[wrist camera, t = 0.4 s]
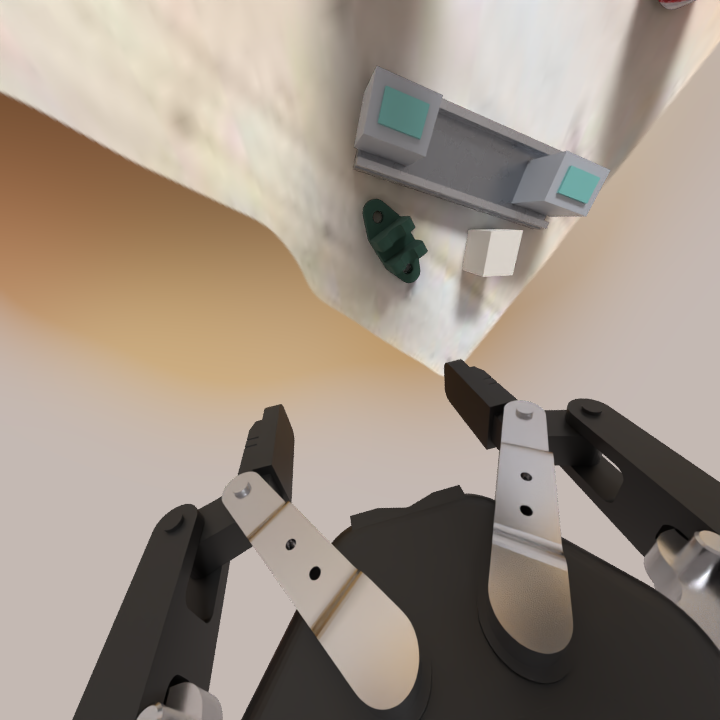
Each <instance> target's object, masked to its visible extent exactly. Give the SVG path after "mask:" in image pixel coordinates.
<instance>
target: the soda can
mask: <svg viewBox="0 0 720 720" xmlns="http://www.w3.org/2000/svg"><path fill="white" fill-rule="evenodd" d="M693 1H696V0H659V2H660V4H661V5H662V6H663V7H665V8H667V9H677V8H680V7H682V6H685V5H687V4H689V3H691V2H693Z"/></svg>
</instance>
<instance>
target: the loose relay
mask: <svg viewBox="0 0 720 720" xmlns="http://www.w3.org/2000/svg"><path fill="white" fill-rule="evenodd" d="M522 233H523V230H509V229H474V230H468V235H467V241H466V248H465V255H464V261H463V268H462V270H463V271H466V272H469V273H473V274H476V275H479V276H482V277H490V276H507V275H513V271H514V267H515V263H516V259H517V254H518V250H519V246H520V242H521V237H522Z"/></svg>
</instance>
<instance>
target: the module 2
mask: <svg viewBox="0 0 720 720" xmlns="http://www.w3.org/2000/svg"><path fill="white" fill-rule="evenodd" d="M609 172H610V170H609V169H607V168H605V167H602V166H600V165H598V164H596V163H593V162H591V161H589V160H587V159H585V158H582V157H580V156H578V155H576V154H573V153H571V152H569V151H564V152H560V153H557V154H553V155H549V156H545V157H541V158H537V159H533V160H529V162H528V165H527V167H526V169H525V172H524V174H523V177H522V179H521V181H520V184H519V186H518V189H517V191H516V193H515V196H514V198H513V201H512V204H515V205H518V206H521V207H524V208H526V209H529V210H532V211H535V212H538V213H540V214H543V215H546V216H549V217H569V216H587V214H588V211H589V210H590V208H591V206H592V204H593V202H594V201H595V199H596V197H597V195H598V193H599V191H600V189H601V187H602V185H603V183H604V182H605V180H606V178H607V176H608V174H609Z"/></svg>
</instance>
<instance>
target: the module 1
mask: <svg viewBox="0 0 720 720" xmlns="http://www.w3.org/2000/svg"><path fill="white" fill-rule="evenodd" d="M442 97H443V95H441V94H439V93H437V92H435V91H433V90H430V89H428V88H426V87H424V86H421V85H419V84H417V83H415V82H412V81H410V80H408V79H406V78H403V77H401V76H399V75H397V74H395V73H392V72H390V71H388V70H386V69H383V68H381V67H379V66H376V68H375V70H374V72H373V75H372V77H371V79H370V81H369V83H368V85H367V87H366V89H365V92H364V96H363V101H362V107H361V112H360V117H359V122H358V128H357V133H356V138H355V144H354V148H357V149H360V150H363V151H366V152H368V153H371V154H374V155H377V156H380V157H382V158H385V159H388V160H391V161H394V162H397V163H399V164H402V165H405V166H408V165H410V164H412V163H414V162H416V161H418V160H420V159H422V158H424V157H426V154H427V150H428V146H429V143H430V139H431V136H432V132H433V129H434V125H435V122H436V118H437V115H438V111H439V108H440V104H441V101H442Z"/></svg>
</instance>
